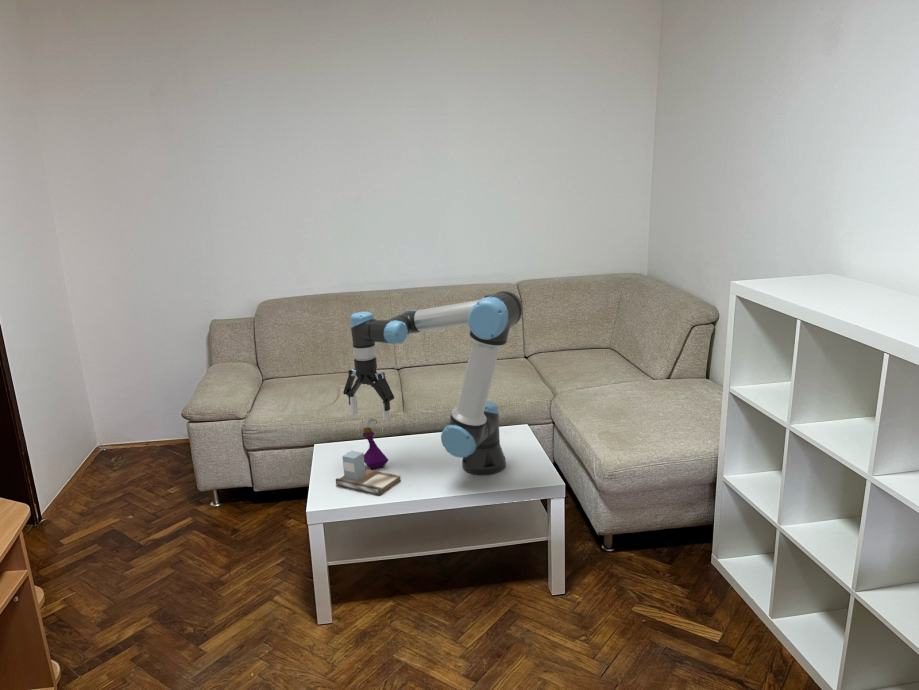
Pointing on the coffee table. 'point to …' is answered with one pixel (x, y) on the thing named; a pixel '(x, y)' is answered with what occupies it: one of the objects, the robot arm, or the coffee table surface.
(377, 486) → the display board
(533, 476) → the coffee table surface
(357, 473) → the tea tin
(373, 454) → the perfume bottle
